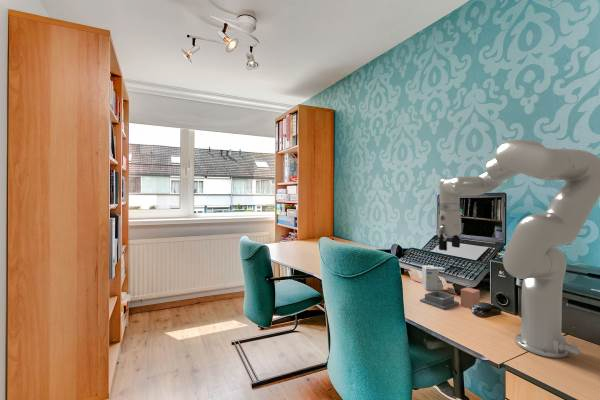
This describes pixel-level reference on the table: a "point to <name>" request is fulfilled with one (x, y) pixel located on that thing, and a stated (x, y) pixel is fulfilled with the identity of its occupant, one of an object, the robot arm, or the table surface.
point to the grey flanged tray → (439, 300)
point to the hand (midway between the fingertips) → (449, 248)
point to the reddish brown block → (469, 297)
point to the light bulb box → (431, 277)
